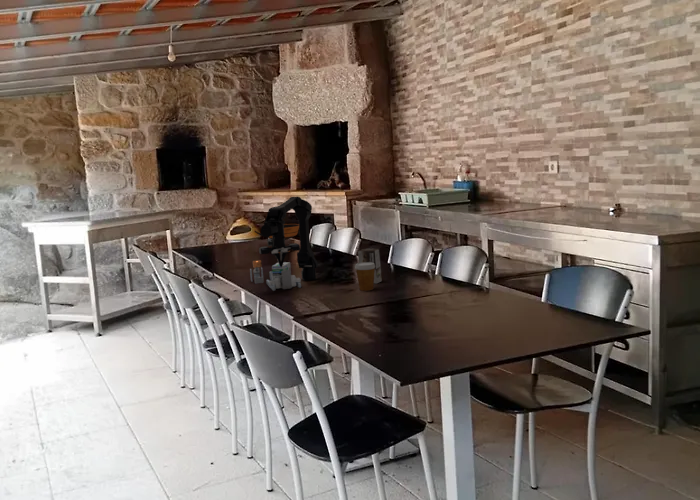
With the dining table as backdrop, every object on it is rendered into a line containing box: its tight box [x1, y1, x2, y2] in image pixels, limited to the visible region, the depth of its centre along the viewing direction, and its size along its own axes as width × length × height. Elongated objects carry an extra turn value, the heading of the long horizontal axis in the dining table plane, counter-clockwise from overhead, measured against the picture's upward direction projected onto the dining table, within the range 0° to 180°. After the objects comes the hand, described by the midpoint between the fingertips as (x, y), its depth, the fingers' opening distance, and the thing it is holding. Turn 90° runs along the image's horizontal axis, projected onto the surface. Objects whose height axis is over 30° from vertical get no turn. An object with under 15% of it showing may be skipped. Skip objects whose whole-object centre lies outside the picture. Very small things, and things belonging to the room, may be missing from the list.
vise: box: [249, 267, 302, 292], centre depth 330 cm, size 20×33×6 cm, turn 16°
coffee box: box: [357, 248, 383, 284], centre depth 317 cm, size 9×6×16 cm
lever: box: [252, 259, 263, 275], centre depth 340 cm, size 4×10×4 cm
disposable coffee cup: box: [354, 262, 375, 292], centre depth 301 cm, size 10×10×12 cm
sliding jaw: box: [269, 269, 302, 290], centre depth 317 cm, size 15×7×9 cm, turn 106°
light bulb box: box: [271, 261, 292, 286], centre depth 326 cm, size 11×7×11 cm, turn 169°
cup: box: [254, 223, 300, 254], centre depth 443 cm, size 36×26×18 cm
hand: (280, 266), depth 312 cm, fingers closed
